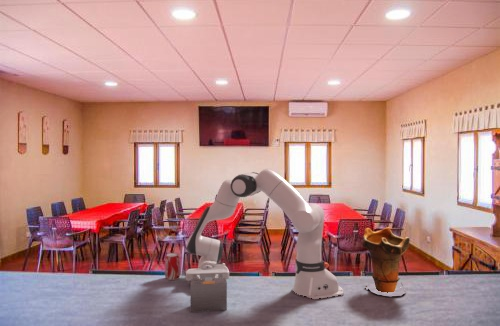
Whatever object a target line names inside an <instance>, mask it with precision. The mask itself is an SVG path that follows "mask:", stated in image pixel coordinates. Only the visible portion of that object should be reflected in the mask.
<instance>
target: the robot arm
mask: <svg viewBox="0 0 500 326" xmlns="http://www.w3.org/2000/svg"><path fill="white" fill-rule="evenodd" d="M261 192H262V193H264V194H265V195H266V196H267V197H268V198H269V199H270V200H272V202H274V204H276V205H277V206H278V207H279V208H280V210H281V211H283V213H284V214H285V215H286V217H287V218H288V219H289V220H290V222H291V223H292V226H293V227H294V229H295V230H296V231H297V232H298V235H297V239H296V258H295V263H294V271H295V277H294V283H293V286H292V292H293V291H294V292H295V293H294V292H293V293H294V294H296V293H297V294H296V295H298V294H299V295H298V296H300V295H303V296H302V297H304V296H307V297H306V298H309V299H311V298H312V299H311V300H319V298H321V299H326V298H327V297H328V298H333V297H332V296H335V297H339V296H338V295H341V296H343V295H344V289H343V288H342V287H341V286H340V285H339V282H338V279H337V277H336V275H334V274H333V273H332V272H331V271H329V270H328V268H329V267H330V264H329V263H328V262H326V261H324V260H323V259H322V241H323V233H324V223H325V210H324V208H323V207H322V206H321V205H319V204H317V203H315V202H312V203H311V202H310V203H307V201H306V200H305V199H304V198H303V196H302V195H300V193H299V191H298V190H297V189H296V188H295V187H294V186H293V185H292V184H291V183H290V182H288V181H287V179H284V177H282V176H281V175H280V174H279V173H277V172H276V171H274V170H272V169H271V168H265V169H262V170H261V171H260V172H259V173H257V172H255V171H253V172H245V173H240V174H238V175H235V176H234V178H233V179H226V180H224V181H222V183H221V185H220V186H219V189H218V190H217V194H216V198H215V199H214V202H213V203H212V204H211V205H209V206H206V207H205V209H204V211H203V212H202V214H201V215H200V218H199V219H198V221H197V223H196V225H195V227H194V229H193V231H192V233H191V234H190V236H189V237H188V239H187V240H186V244H185V249H186V251H187V252H188V254H190V255H194V256H200V258H199V260H198V266H197V268H188V269H187V270H186V271H185V272H184V273H185V281H186V282H191V279H203V281H205V277H212V281H214V278H226V280H229V279H230V270H229V268H228V266H226V263H224V262H220V261H221V260H222V257H223V252H224V244H223V242H222V241H221V240H220V239H216V238H211V237H208V236H207V237H206V236H203V235H202V233H203V231H204V229H205V228H206V226H207V224H208V223H210V222H213V221H218V220H221V221H222V220H226V219H229V218H231V217H232V216H234V214H235V213H236V212H235V211H236V209H237V206H238V203H239V201H240V199H241V198H246V197H251V196H254V195H257V194H260V193H261Z"/></svg>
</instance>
